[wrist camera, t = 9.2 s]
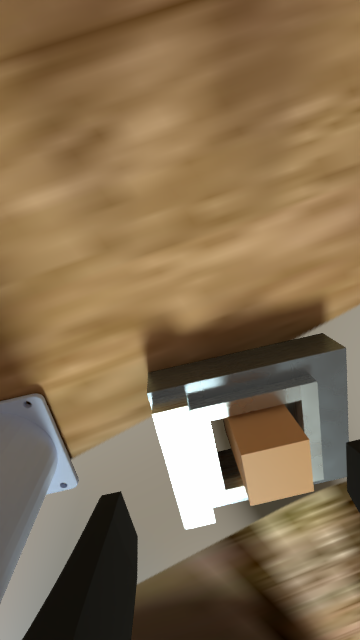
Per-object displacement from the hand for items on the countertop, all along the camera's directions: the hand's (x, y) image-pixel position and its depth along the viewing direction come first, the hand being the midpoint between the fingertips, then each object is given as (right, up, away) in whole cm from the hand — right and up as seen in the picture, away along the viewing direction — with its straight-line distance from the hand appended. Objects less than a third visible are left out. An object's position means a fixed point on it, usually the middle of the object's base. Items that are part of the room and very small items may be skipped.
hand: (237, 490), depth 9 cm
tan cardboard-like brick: (+3, -1, +11) cm, 12 cm away
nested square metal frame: (+3, -1, +12) cm, 12 cm away
